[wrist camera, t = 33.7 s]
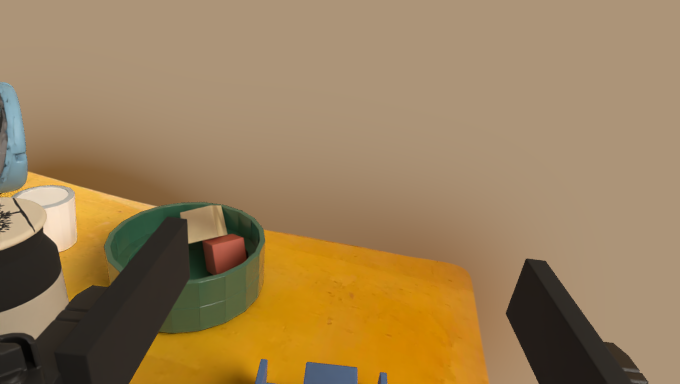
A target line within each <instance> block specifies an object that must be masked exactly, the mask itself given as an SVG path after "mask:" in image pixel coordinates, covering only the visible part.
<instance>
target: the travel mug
mask: <svg viewBox="0 0 680 384" xmlns="http://www.w3.org/2000/svg"><path fill="white" fill-rule="evenodd" d="M46 219H47V214H46V211H45V209H44V208H43V207H42V206H41V205H39V204H37V203H35V202H33V201H30V200H26V199H20V198H8V197H0V335H3V334H8V333H26V334H28V335H31V336H33V338H34V340H35V339H36V338H37V337H38V336H39V335H40V334H41V333H42V332H43V331H44V330H45V329H46V327H47V326H48V325H49V324H50V323H51V322H52V321H53V320H55V319H56V317H57V315H58V314H59V313H60V312H61V311H62V310H64V309H65V307H66V306H67V305H68V304H69V301H68V296H67V291H66V286H65V281H64V276H63V271H62V267H61V262H60V257H59V252H58V247H57V245H56V244H55V242H53V241H52V240H51V239H50V238H49V237H48V236H47V235H46V234H45V233H43V225H44V224H45V222H46Z"/></svg>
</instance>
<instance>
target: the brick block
mask: <svg viewBox="0 0 680 384" xmlns="http://www.w3.org/2000/svg"><path fill="white" fill-rule="evenodd" d="M202 243H203V249H204V255H205V261H206V268H207V271H208V272H210V273H211V274H213V275H217V274H221V273H224V272H226V271H228V270H230V269H232V268H234V267H236V266H238V265H240V264H242V263H243V262H245V261H246V260H247V258H246V251H245V245H244V238H243V237H240V236H237V235H234V234H229V235H224V236H220V237H216V238H212V239H207V240H203V241H202Z"/></svg>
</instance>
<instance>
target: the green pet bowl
mask: <svg viewBox="0 0 680 384" xmlns="http://www.w3.org/2000/svg"><path fill="white" fill-rule="evenodd" d="M210 205H221V204H213V203H205V202H191V203H190V202H187V203H185V202H184V203H177V204H169V205H163V206H159V207H155V208H152V209H149V210H146V211H142V212H140V213H138V214H136V215H134V216H132V217H130V218H128V219H126V220H124V221H123V222H121V223H120V224H119V225H118V226H117V227H116V228H115V229H114V230H113V231H112V232H111V233H110V234H109V236H108V239H107V241H106V243H105V246H104V250H105V256H106V263H107V269H108V276H109V283H110V284H111V283H112V282H113V281H114V280H115V278H116V277H117V276H118V275H119V274H120V272H121V271H122V270H123V269H124V268H125V266H126V265H127V264H128V263H129V262H130V260H131V259H132V258H133V257H134V256H135V254H136V253H137V252H138V251H139V250H140V248H141V247H142V246H143V245H144V244H145V242H146V241H147V240H148V239H149V238H150V236H151V235H152V234H153V233H154V232H155V230H156V229H157V228H158V227H159V226H160V224H161V223H162V222H163V221H164V220H165V219H166V217H175V218H181V215H180V213H181V212H185V211H189V210H193V209H198V208H202V207H206V206H210ZM221 208H222V212H223V216H224V221H225V225H226V230H227V235H229V234H234V235H237V236H240V237H243V238H244V245H245V251H246V258H247V260H246V261H245V262H243V263H242V264H240V265H238V266H236V267H234V268H232V269H230V270H228V271H226V272H224V273H221V274H217V275H213V274H211V273H210V272H208V271H207V268H206V261H205V255H204V249H203V243H202V241H199V242H194V243H190V244H188V246H189V267H190V278H189V280H188V282H187V283H186V285H185V287H184V289H183V290H182V292H181V294H180V296H179V297H178V299H177V301H176V303H175V304H174V306H173V308H172V309H171V311H170V313H169V315H168V316H167V318H166V320H165V322H164V323H163V325H162V327H161V329H160V330H159V332H166V333H182V332H193V331H201V330H204V329H207V328H210V327H214V326H217V325H220V324H223V323H226V322H228V321H229V320H231V319H233V318H234V317H236V316H238V315H240V314H241V313H243V312H245V311H246V310H247V309H248V307H249V306H250V305H251V304H252V303H253V302H254V301H255V300H256V299H257V298H258V296H259V293H260V290H261V288H262V285H263V276H264V254H265V237H264V231H263V228H262V227H261V226H260V224H259V223H258V222H257V221H256V219H255V218H253V217H252V216H250V215H248V214H247V213H245V212H243V211H242V210H238V209H235V208H232V207H229V206H226V205H221ZM211 239H212V238H211Z"/></svg>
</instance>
